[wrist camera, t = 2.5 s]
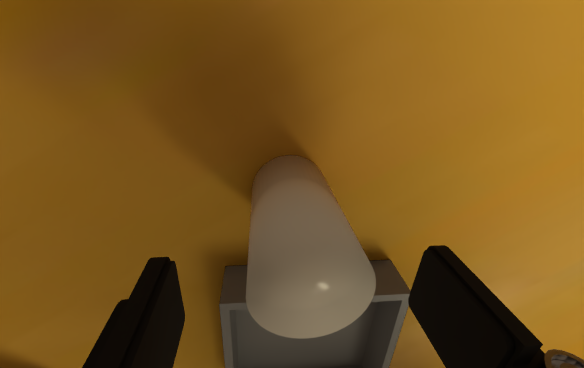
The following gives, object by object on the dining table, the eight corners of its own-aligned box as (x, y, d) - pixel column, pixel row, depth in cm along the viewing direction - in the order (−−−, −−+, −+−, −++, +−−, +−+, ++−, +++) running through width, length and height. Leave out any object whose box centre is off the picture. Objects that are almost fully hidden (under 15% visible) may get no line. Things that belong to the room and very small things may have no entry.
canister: (328, 155, 18) (387, 238, 9) (321, 220, 20) (364, 334, 12) (251, 154, 17) (243, 242, 9) (252, 221, 19) (247, 342, 11)
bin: (390, 259, 22) (412, 293, 19) (364, 361, 28) (378, 400, 24) (225, 266, 20) (219, 304, 17) (233, 372, 26) (229, 415, 23)
